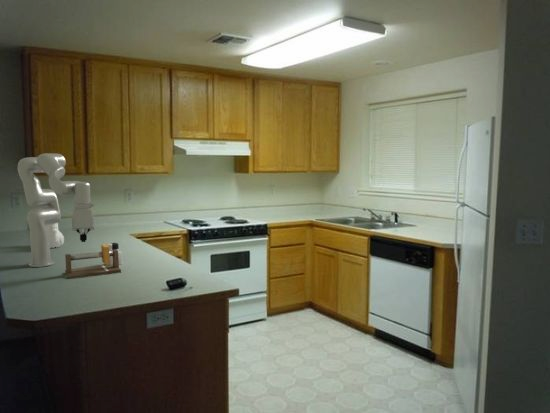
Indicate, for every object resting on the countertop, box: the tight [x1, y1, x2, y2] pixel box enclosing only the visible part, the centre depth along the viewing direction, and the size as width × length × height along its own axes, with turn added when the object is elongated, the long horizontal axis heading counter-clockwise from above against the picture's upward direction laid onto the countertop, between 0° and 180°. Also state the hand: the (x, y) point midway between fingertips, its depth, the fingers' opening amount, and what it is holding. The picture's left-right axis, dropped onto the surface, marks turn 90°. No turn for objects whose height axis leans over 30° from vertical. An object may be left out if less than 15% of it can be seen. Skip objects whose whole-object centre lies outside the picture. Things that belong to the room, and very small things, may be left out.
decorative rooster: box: [45, 222, 65, 249], centre depth 307 cm, size 25×16×25 cm, turn 21°
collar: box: [100, 243, 110, 265], centre depth 241 cm, size 9×2×9 cm, turn 30°
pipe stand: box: [64, 250, 122, 280], centre depth 238 cm, size 15×25×11 cm, turn 120°
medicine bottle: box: [104, 242, 123, 266], centre depth 257 cm, size 7×7×12 cm
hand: (83, 241), depth 237 cm, fingers closed
